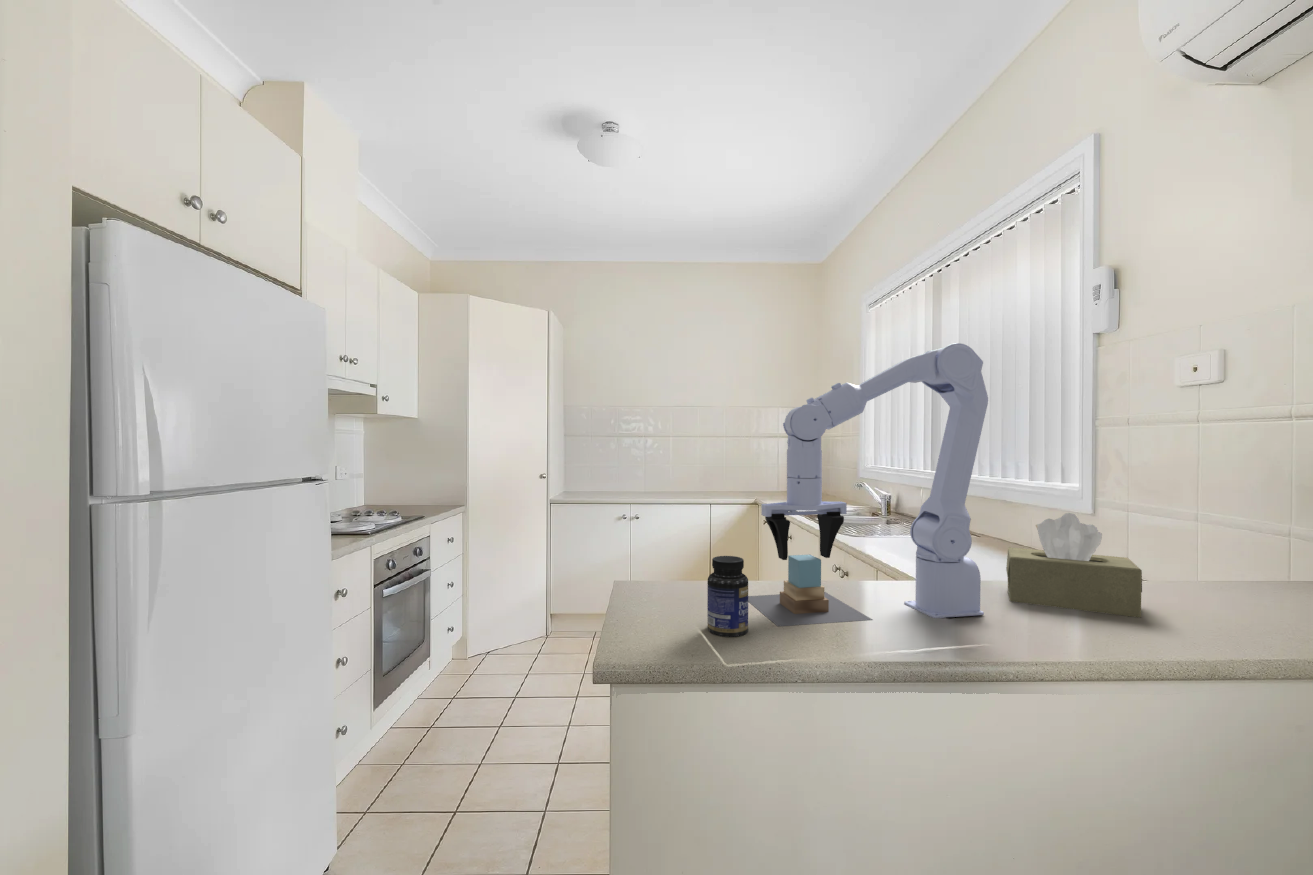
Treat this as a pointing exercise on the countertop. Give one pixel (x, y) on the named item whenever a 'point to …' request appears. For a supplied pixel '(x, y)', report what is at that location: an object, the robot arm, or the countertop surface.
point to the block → (804, 571)
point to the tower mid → (803, 592)
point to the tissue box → (1073, 571)
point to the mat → (785, 617)
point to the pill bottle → (727, 597)
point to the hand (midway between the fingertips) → (804, 557)
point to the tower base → (804, 604)
